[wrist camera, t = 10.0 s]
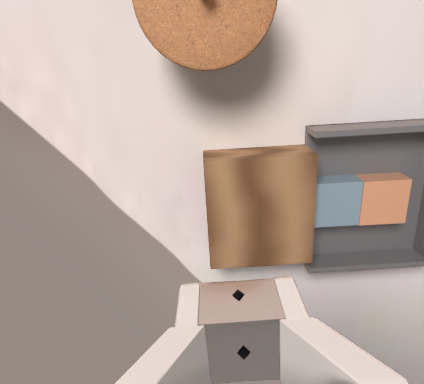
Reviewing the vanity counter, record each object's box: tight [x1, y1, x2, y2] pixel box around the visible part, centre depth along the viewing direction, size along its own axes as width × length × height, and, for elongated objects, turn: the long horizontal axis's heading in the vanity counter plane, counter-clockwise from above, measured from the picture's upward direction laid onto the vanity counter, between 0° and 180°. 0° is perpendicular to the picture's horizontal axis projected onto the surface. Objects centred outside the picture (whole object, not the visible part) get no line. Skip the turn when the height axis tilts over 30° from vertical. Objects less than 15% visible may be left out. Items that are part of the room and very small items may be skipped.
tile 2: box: [314, 174, 364, 228], centre depth 37 cm, size 5×5×2 cm
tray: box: [304, 119, 424, 273], centre depth 37 cm, size 14×16×4 cm
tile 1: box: [355, 172, 412, 226], centre depth 37 cm, size 5×5×2 cm
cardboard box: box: [203, 144, 318, 269], centre depth 36 cm, size 11×12×4 cm
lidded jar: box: [132, 0, 277, 71], centre depth 27 cm, size 11×11×9 cm
